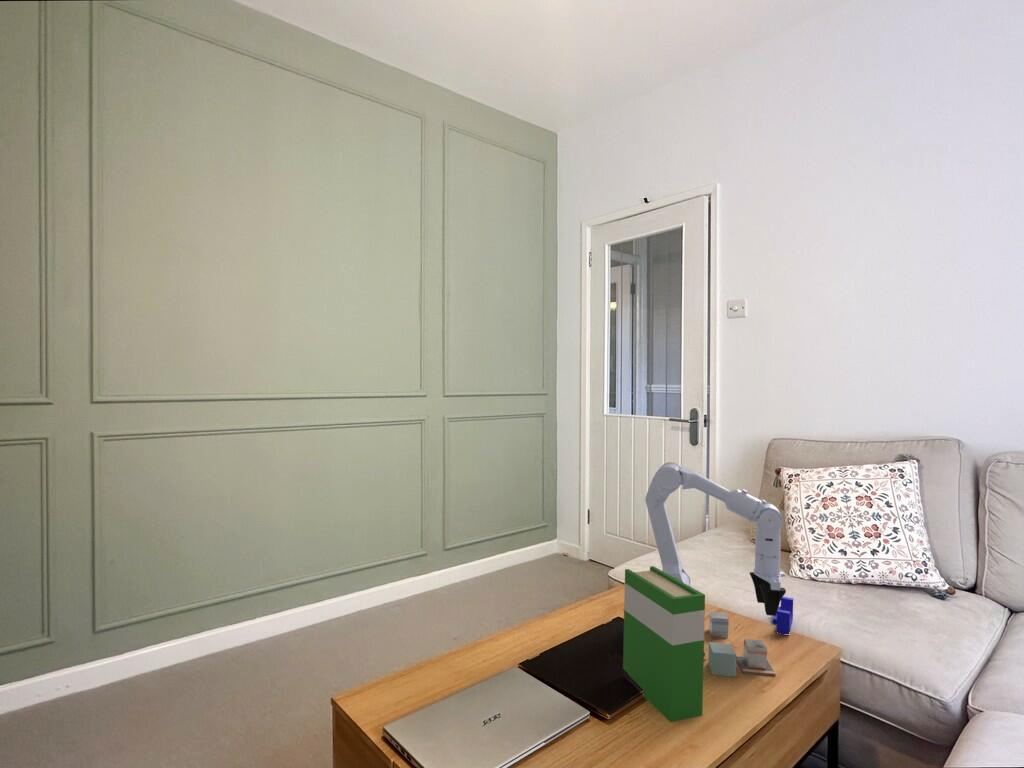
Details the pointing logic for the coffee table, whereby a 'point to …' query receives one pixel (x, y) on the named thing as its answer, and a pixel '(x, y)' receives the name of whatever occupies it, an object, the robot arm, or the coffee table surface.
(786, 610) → the cable clip
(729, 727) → the coffee table surface
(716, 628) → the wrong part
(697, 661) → the hardback book
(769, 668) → the pad
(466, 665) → the coffee table surface
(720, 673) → the block
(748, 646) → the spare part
